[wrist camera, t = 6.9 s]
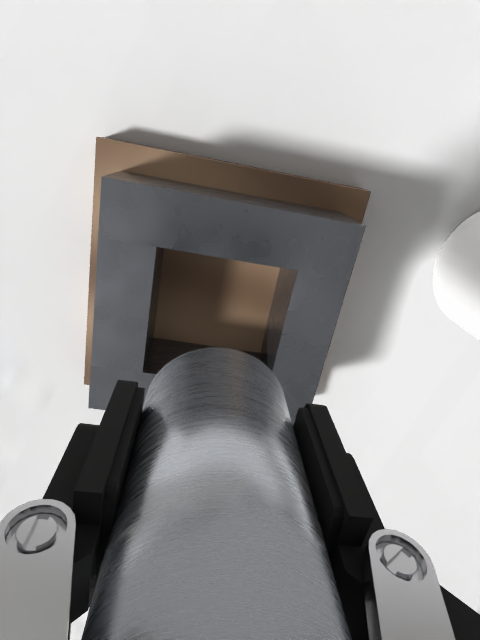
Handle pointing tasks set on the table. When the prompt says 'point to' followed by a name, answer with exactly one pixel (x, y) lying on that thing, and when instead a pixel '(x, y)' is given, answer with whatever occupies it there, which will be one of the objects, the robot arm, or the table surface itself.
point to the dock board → (208, 271)
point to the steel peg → (216, 516)
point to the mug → (460, 276)
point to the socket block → (225, 242)
